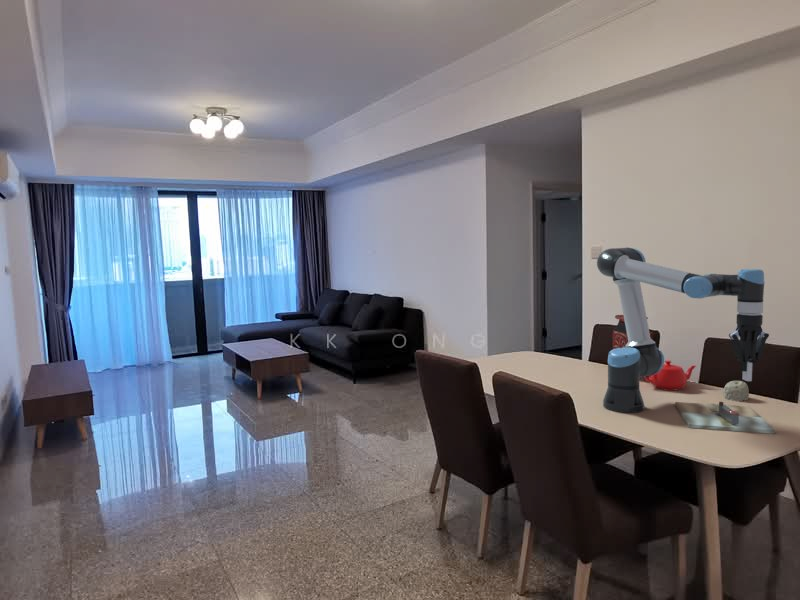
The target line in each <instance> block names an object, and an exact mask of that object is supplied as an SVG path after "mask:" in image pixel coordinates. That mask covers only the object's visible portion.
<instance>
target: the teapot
mask: <svg viewBox="0 0 800 600" xmlns="http://www.w3.org/2000/svg"><path fill="white" fill-rule="evenodd" d="M696 367H697V365H690V366H689V367H688V369H687V371H686V372H685V371H684V369H683V367H682V366H680V365H676V364H672V360H664V365H663V368H662V369H661V370H660V371H659V372H658V373H656V374H654V375H652V376H648V377H649V378H648V377H643V379H644V380H646V381H647V382H649V383H650V384H651V385H652V386H653V387H655V388H656V389H659V388H660V390H664V389H666V390H667V391H677V390H676V389H679V390H681V389H683V388H685V387H686V386H687V384H688V380H690V378H691V376H692V373H693V370H694V369H695V368H696ZM666 390H665V391H666Z"/></svg>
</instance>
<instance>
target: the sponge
mask: <svg viewBox="0 0 800 600" xmlns="http://www.w3.org/2000/svg"><path fill="white" fill-rule="evenodd" d="M749 391H750V390H749V386H748V383H746V382H745V381H743V380H732V381H729V382H727V383H726V384H725V386H724V388H723V392H722V394H723V395H722V396H724V397H725V398H724V397H723V398H724V399H726V398H727V399H726V400H730V399H731V401H734V400H736V401H735V402H744V401H743V400H747V401H748V400H749V395H750V393H749Z"/></svg>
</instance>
